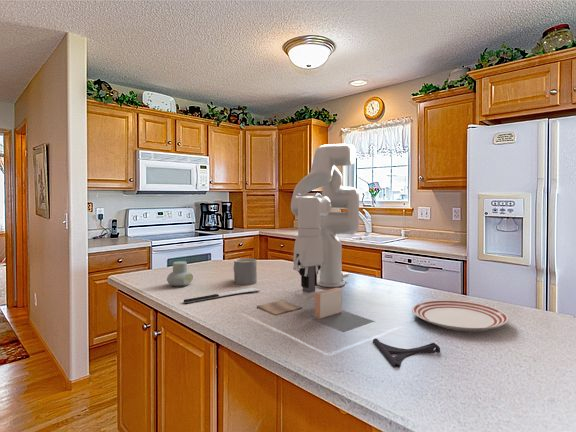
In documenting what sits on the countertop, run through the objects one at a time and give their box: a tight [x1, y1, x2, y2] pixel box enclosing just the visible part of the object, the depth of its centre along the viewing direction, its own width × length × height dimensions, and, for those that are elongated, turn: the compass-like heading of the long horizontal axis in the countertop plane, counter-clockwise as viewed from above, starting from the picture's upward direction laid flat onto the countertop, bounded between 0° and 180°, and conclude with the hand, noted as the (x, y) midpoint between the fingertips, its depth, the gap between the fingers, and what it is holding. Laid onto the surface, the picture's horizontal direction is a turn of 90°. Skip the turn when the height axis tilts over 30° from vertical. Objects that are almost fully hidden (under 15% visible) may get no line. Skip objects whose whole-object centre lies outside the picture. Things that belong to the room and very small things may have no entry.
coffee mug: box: [233, 257, 258, 286], centre depth 167 cm, size 13×10×10 cm
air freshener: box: [166, 260, 194, 287], centre depth 161 cm, size 11×8×10 cm
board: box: [256, 299, 302, 316], centre depth 127 cm, size 11×11×1 cm
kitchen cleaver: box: [183, 287, 261, 305], centre depth 145 cm, size 31×2×10 cm
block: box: [314, 287, 343, 319], centre depth 119 cm, size 10×2×8 cm, turn 129°
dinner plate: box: [411, 299, 510, 332], centre depth 116 cm, size 28×27×3 cm
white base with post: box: [294, 266, 325, 300], centre depth 125 cm, size 6×10×11 cm, turn 129°
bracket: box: [372, 338, 441, 368], centre depth 93 cm, size 14×15×3 cm
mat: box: [306, 309, 375, 333], centre depth 116 cm, size 14×16×1 cm
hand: (309, 285), depth 127 cm, fingers closed on white base with post, 3 cm apart
